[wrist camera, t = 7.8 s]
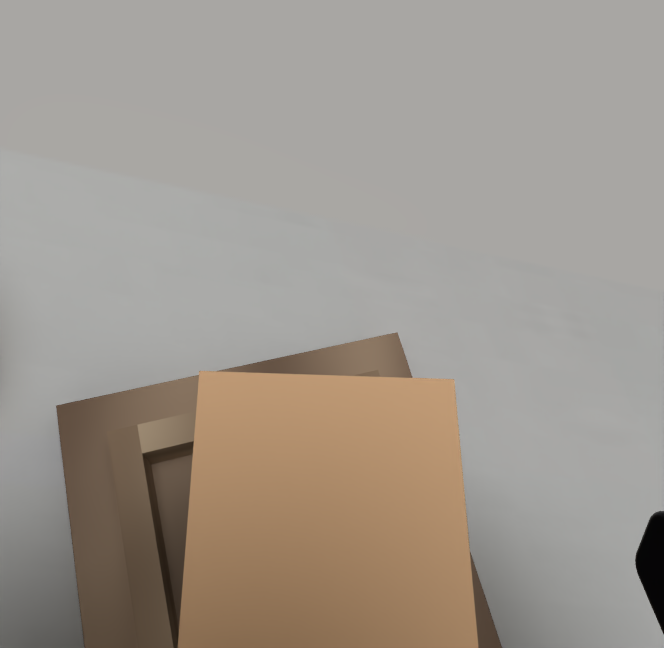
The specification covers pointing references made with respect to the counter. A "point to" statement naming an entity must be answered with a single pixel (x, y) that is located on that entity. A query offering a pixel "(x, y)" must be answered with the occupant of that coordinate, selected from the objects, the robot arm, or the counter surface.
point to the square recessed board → (167, 494)
